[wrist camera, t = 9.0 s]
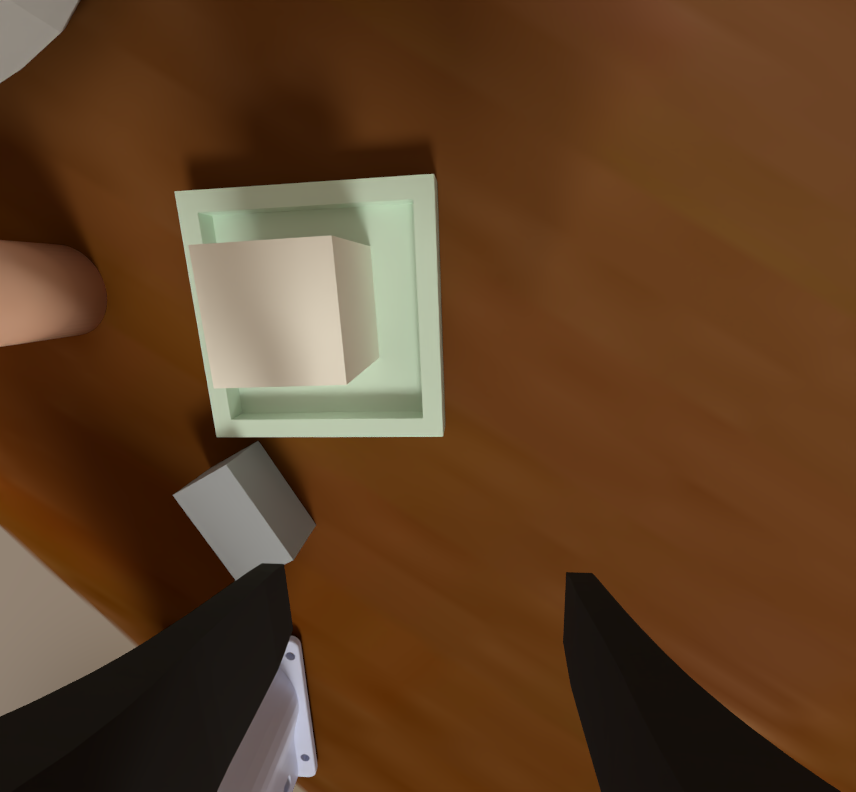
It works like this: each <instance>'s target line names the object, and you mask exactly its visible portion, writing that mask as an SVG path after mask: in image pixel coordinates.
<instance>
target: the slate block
mask: <svg viewBox="0 0 856 792" xmlns="http://www.w3.org/2000/svg"><path fill="white" fill-rule="evenodd" d="M173 496H174V498H175V499H176V500H177V502H178V503H179V505H180V506H181V507H182V509H183V510H184V511H185V513H186V514H187V515H188V517H189V518H190V519H191V521H192V522H193V523H194V525H195V526H196V528H197V529H198V530H199V532H200V533H201V534H202V536H203V537H204V538H205V540H206V541H207V542H208V544H209V545H210V546H211V548H212V549H213V550H214V552H215V553H216V555H217V556H218V557H219V559H220V560H221V561H222V563H223V564H224V565H225V567H226V568H227V569H228V571H229V572H230V573H231V575H232V576H233V577H234V579H235V580H237V579H239V578H240V577H242V576H243V575H244V574H246V573H247V572H249V571H250V570H252V569H253V568H255V567H256V566H258V565H260V564H261V563H271V564H286V563H288V562H291V561H293V560H294V558H295V557H296V555H297V554H298V552H299V551H300V549H301V548H302V546H303V544H304V543H305V541H306V540H307V538H308V537H309V535H310V534H311V532H312V531H313V529H314V527H315V526H316V524H315V523H314V521H313V520H312V518H311V517H310V515H309V514H308V512H307V511H306V509H305V508H304V507H303V505H302V504H301V502H300V501H299V499H298V498H297V496H296V495H295V493H294V492H293V490H292V489H291V488H290V486H289V485H288V483H287V482H286V480H285V479H284V477H283V476H282V474H281V473H280V471H279V470H278V469H277V467H276V466H275V464H274V463H273V461H272V460H271V458H270V457H269V455H268V454H267V452H266V451H265V450H264V448H263V447H262V445H261V444H260V442H259V441H257V442H255V443H253V444H252V445H250V446H248V447H246V448H245V449H243V450H241V451H239V452H238V453H236V454H234V455H232V456H231V457H229V458H227V459H225V460H224V461H222V462H220V463H218V464H217V465H215V466H213V467H211V468H210V469H208V470H207V471H206V472H204V473H203V474H201V475H200V476H199V477H197V478H196V479H194V480H193V481H192V482H190V483H189V484H187V485H186V486H185V487H183V488H182V489H181V490H179V491H178V492H176V493H175V494H174V495H173Z"/></svg>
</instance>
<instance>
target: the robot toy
mask: <svg viewBox="0 0 856 792" xmlns="http://www.w3.org/2000/svg"><path fill="white" fill-rule="evenodd" d="M79 2H80V0H0V83H1V82H3V81H4V80H5V79H7V78H8V77H10V76H11V75H13V74H14V73H16V72H17V71H19V70H20V69H22V68H23V67H24V66H25V65H26V64H27V63H28V62H30V61H31V60H32V59H33V58H34V57H35V56H36V55H37V54H38V53H39V52H40V51H42V50H43V49H44V48H45V47H46V46H47V45H48V44H49V43H50V42H51V41H52V40H53V39H55V38H56V37H57V36H58V35H59V34H60V33H61V32H62V31H63V30H64V29H65V28H66V26H67V24H68V22H69V21H70V19H71V17H72V15H73V13H74V11H75V10H76V8H77V6H78V4H79Z"/></svg>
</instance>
